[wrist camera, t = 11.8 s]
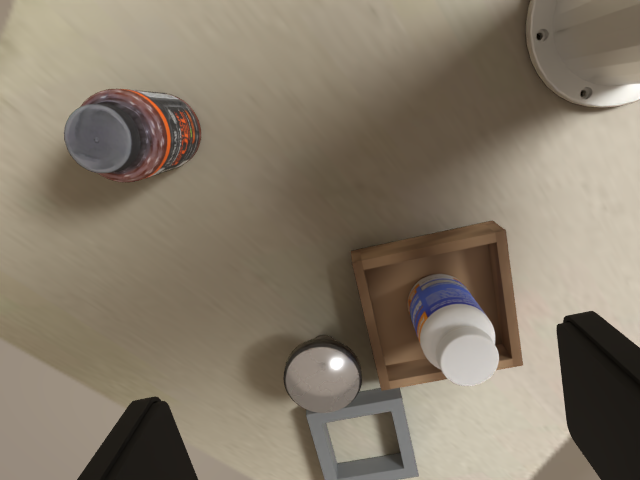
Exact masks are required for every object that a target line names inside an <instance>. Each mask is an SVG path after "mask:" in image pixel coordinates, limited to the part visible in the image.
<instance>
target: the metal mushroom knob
mask: <svg viewBox="0 0 640 480" xmlns="http://www.w3.org/2000/svg"><path fill="white" fill-rule="evenodd" d="M361 383H362V376H361V367H360V363H359V361H358V359H357V357H356V355H355V354H354V353H353V351H352V350H351V349H349V348H348V347H347V346H345V345H344V344H342V343H340V342H338V341H335V339H334V338H332V337H331V336H328V335H320V336H318V337H316V338H315V339H313V340H310V341H307V342H304V343H303V344H301V345H299V346H298V347H296V348H295V349H294V350H293V351H292V353H291V354H290V356H289V357H288V359H287V362H286V366H285V371H284V385H285V388H286V391H287V393H288V394H289V396H290V397H291V399H292V400H293V401H294V402H296V403H297V404H298V405H299V406H301V407H303V408H305V409H307V410H309V411H312V412H317V413H330V412H335V411H338V410H340V409H342V408H344V407H346V406H347V405H349V404H350V403H351V402H352V401H353V400H354V399H355V398H356V396H357V395H358V393H359V391H360V388H361Z"/></svg>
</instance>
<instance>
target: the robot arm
mask: <svg viewBox="0 0 640 480" xmlns="http://www.w3.org/2000/svg"><path fill="white" fill-rule="evenodd" d="M537 34H540V39H539V40H537V38H536V35H537ZM526 39H527V47H528V51H529V55H530V59H531V62H532V64H533V66H534V68H535V70H536V72H537V74H538V75H539V77H540V78H541V79H542V81H543V82H544V83H545V84H546V86H547V87H548V88H550V89H551V90H552V91H553V92H554V93H556V94H557V95H558V96H560V97H562V98H564V99H566V100H568V101H570V102H572V103H575V104H579V105H583V106H586V107H617V106H621V105H626V104H630V103H634V102H636V101H638V100H640V0H531V1H530V4H529V8H528V14H527V22H526ZM581 90H582V91H583V95H582V96H580V93H581ZM557 339H558V348H559V357H560V366H561V375H562V384H563V393H564V402H565V411H566V420H567V426H568V429H569V432H570V434H571V437H572V439H573V440H574V442H575V443H576V445H577V446H578V447H579V449H580V450H581V451H582V453H583V455H584V456H585V457H586V459H587V460H588V462H589V463H590V464H591V466H592V467H593V469H594V470H595V472H596V473H597V474H598V476H599V477H600V479H601V480H640V348H639V347H638V346H637V345H635V344H634V343H633V342H632V341H630V340H629V339H628V338H627V337H625V336H624V335H623V334H622V333H620V332H619V331H618V330H617V329H615V328H614V327H613V326H612V325H611V324H609V323H608V322H607V321H606V320H604V319H603V318H602V317H601V316H599V315H598V314H597V313H595V312H594V311H589V312H583V313H578V314H573V315H568V316H565V317H564V320H563V323H562V324H558V325H557ZM77 480H198V478H197V476H196V473H195V471H194V468H193V466H192V463H191V461H190V458H189V456H188V453H187V450H186V448H185V445H184V443H183V440H182V438H181V435H180V433H179V430H178V428H177V425H176V423H175V420H174V418H173V415H172V413H171V410H170V408H169V405H168V403H167V402H165V401H161V400H160V399H159V398H158V397H150V398H145V399H140V400H135V401H132V402H131V403H130V405H129V406H128V407H127V409H126V410H125V412H124V413H123V415H122V416H121V418H120V419H119V421H118V422H117V423H116V425H115V426H114V428H113V429H112V431H111V432H110V433H109V435H108V436H107V438H106V439H105V441H104V442H103V443H102V445H101V446H100V448H99V449H98V450H97V452H96V453H95V455H94V456H93V458H92V459H91V461H90V462H89V463H88V465H87V466H86V468H85V469H84V471H83V472H82V474H81V475H80V476H79V478H78V479H77Z"/></svg>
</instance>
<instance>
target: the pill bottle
mask: <svg viewBox="0 0 640 480" xmlns="http://www.w3.org/2000/svg"><path fill="white" fill-rule="evenodd" d="M408 311H409V315H410V317H411V320H412V323H413V326H414V328H415V331H416V334H417V337H418V339H419V342H420V345H421V348H422V350H423V352H424V354H425V356H426V358H427V359H428V360H429V362H430V363H431V364H433V365H434V366H435V367H437V368H439V369H441V371H442V373H443V374H444V376H445V377H446V378H447V379H448V380H450V381H451V382H453V383H455V384H458V385H461V386H474V385H478V384H481V383H483V382H484V381H486V380H488V379H489V378H490V377H491V376H492V375H493V374H494V372H495V371H496V369H497V366H498V363H499V354H498V350H497V348H496V346H495V331H494V328H493V325H492V323H491V321H490V320H489V318H488V317H487V316H486V314H485V313H484V311H483V310H482V309H481V307H480V306H479V305H478V303H477V302H476V301H475V299H474V298H473V296H472V295H471V294H470V292H469V291H468V289H467V288H466V287H465V285H464V284H463V283H462V282H461V281H459V280H458V279H456V278H455V277H453V276H450V275H446V274H433V275H429V276H427V277H425V278H423V279H421V280H420V281H418V282H417V283H416V284H415V285H414V286H413V288H412V289H411V291H410V294H409V297H408Z"/></svg>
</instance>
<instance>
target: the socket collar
mask: <svg viewBox="0 0 640 480" xmlns="http://www.w3.org/2000/svg"><path fill="white" fill-rule="evenodd" d="M390 411H391V412H392V416H393V421H394V425H395V429H396V434H397V438H398V443H399V447H400V451H401V453H398V454H392V455H386V456H380V457H374V458H368V459H362V460H356V461H350V462H344V463H338V464H337V461H336V457H335V454H334V450H333V447H332V443H331V439H330V436H329V432H328V429H327V425H326V423H327V422H333V421H338V420H344V419H350V418H355V417H361V416H367V415H373V414H378V413H384V412H390ZM306 417H307V420H308V424H309V427H310V431H311V434H312V437H313V441H314V444H315V448H316V451H317V455H318V458H319V462H320V465H321V468H322V472H323V475H324V479H325V480H399V479H406V478H412V477H418V476H419V474H418V470H417V465H416V460H415V456H414V451H413V447H412V442H411V438H410V433H409V428H408V424H407V419H406V415H405V410H404V405H403V401H402V396H401V392H400V388H394V389H389V390H383V391H382V390H381V388H379V389H373V390H368V391H362V392H359V393H358V395H357V396H356V398H355V399H354V400H353V401H352V402H351V403H350V404H349V405H347V406H346V407H344V408H342V409H340V410H338V411H335V412H330V413H317V412H312V411H309V410H306Z"/></svg>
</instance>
